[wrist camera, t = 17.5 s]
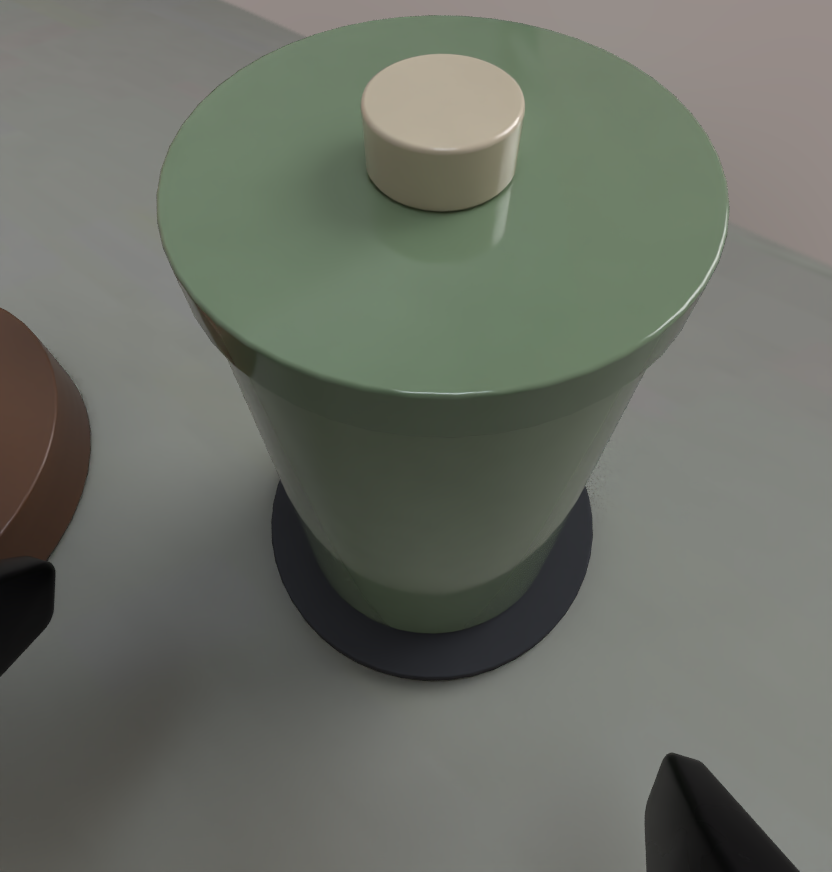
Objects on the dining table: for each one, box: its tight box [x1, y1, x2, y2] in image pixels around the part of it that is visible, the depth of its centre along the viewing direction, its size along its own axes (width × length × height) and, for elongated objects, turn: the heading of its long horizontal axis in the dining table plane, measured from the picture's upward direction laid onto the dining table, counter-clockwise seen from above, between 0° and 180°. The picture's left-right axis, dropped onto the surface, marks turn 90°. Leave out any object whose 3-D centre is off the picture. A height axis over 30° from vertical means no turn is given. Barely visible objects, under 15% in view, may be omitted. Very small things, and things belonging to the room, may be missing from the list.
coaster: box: [271, 480, 593, 680], centre depth 17 cm, size 8×8×1 cm
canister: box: [156, 15, 729, 634], centre depth 12 cm, size 7×7×11 cm
